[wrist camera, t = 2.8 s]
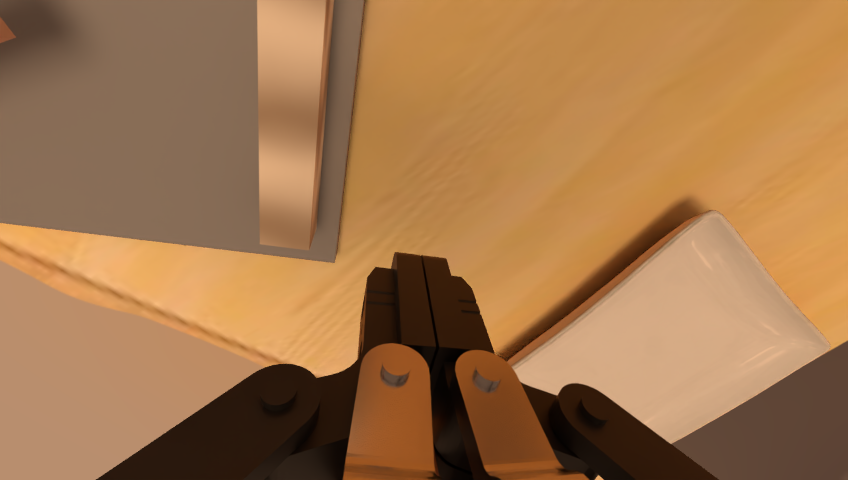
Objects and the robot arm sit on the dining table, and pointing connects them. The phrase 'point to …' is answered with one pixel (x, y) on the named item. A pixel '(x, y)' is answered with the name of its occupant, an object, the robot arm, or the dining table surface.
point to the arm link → (291, 116)
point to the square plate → (678, 332)
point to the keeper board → (153, 121)
